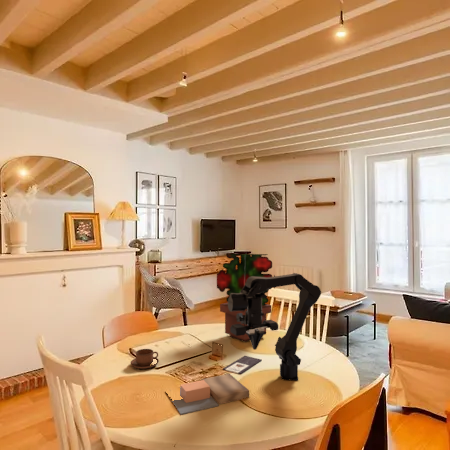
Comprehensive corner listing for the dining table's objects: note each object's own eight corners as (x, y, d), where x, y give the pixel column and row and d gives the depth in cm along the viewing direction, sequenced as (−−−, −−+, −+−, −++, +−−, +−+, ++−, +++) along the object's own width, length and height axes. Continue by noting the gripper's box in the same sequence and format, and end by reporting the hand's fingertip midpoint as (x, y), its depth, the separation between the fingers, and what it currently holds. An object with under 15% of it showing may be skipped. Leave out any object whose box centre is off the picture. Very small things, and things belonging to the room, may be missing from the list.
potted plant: (246, 328, 218) (246, 251, 217) (274, 338, 201) (274, 254, 200) (216, 336, 204) (216, 253, 203) (244, 347, 187) (244, 257, 186)
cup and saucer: (146, 358, 172) (146, 345, 172) (164, 364, 164) (164, 350, 164) (124, 366, 163) (124, 352, 163) (142, 373, 155) (142, 358, 155)
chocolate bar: (261, 359, 169) (240, 373, 154) (261, 361, 169) (240, 375, 154) (244, 355, 174) (222, 368, 159) (244, 357, 174) (222, 370, 159)
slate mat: (199, 384, 144) (199, 383, 144) (218, 406, 128) (218, 404, 128) (165, 391, 138) (165, 390, 138) (180, 414, 122) (180, 413, 122)
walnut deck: (229, 380, 149) (229, 373, 149) (249, 397, 134) (249, 390, 134) (201, 385, 143) (201, 379, 143) (218, 404, 129) (218, 397, 129)
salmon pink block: (203, 379, 138) (180, 384, 135) (210, 386, 133) (185, 391, 129) (203, 390, 138) (180, 395, 135) (210, 397, 133) (185, 403, 129)
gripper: (264, 303, 157) (264, 340, 157) (224, 307, 149) (224, 346, 149) (279, 308, 147) (279, 348, 147) (237, 313, 139) (236, 355, 139)
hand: (254, 349), depth 146 cm, fingers closed
